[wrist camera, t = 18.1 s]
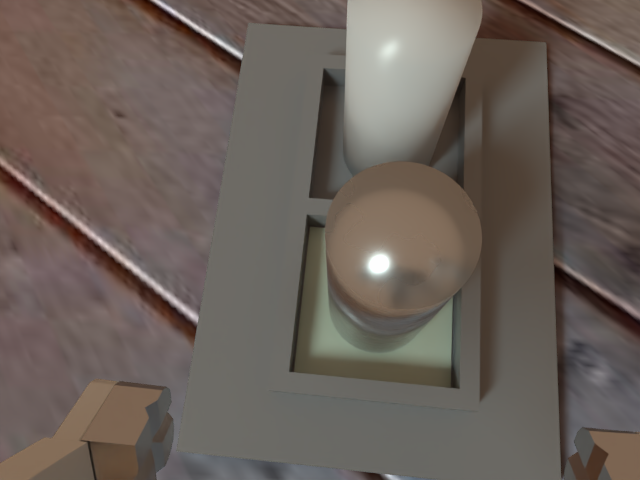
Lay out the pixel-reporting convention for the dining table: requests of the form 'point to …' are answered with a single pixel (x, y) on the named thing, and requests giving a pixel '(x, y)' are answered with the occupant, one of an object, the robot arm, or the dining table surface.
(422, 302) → the cylinder
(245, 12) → the dining table surface
